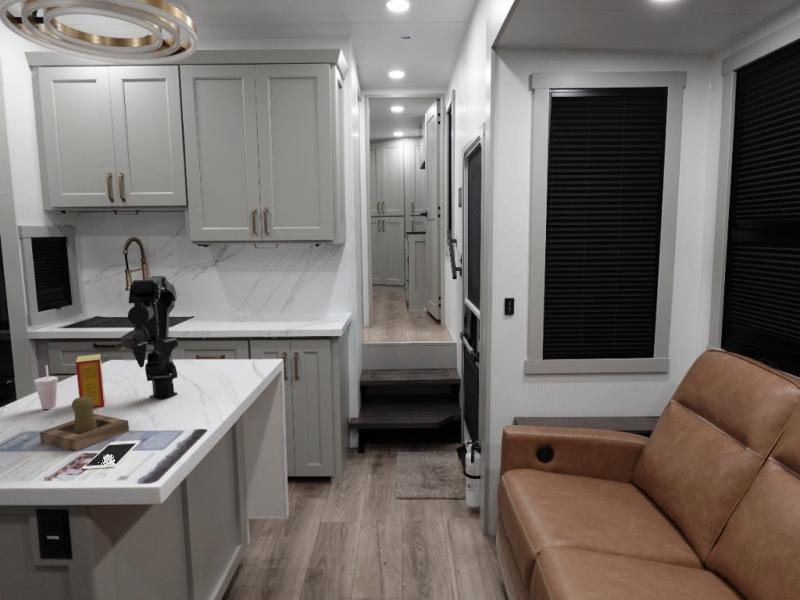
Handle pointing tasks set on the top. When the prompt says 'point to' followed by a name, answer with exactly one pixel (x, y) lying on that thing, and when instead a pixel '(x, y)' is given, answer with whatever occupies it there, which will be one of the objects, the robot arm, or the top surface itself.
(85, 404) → the cork
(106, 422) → the walnut socket
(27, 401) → the top surface
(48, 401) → the smoothie
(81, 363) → the baking soda box
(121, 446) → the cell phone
